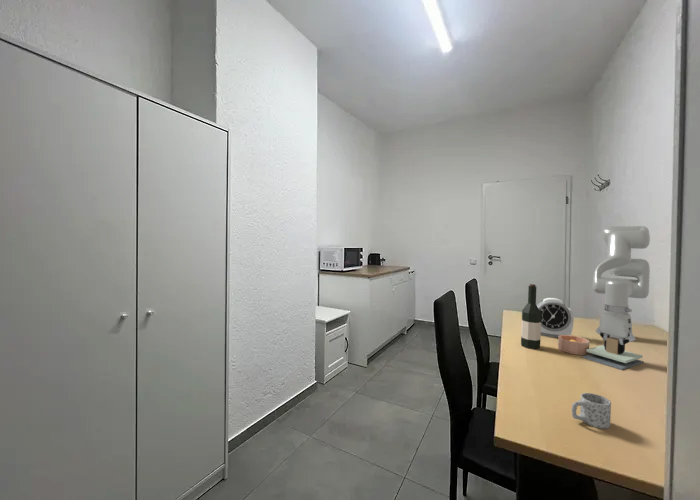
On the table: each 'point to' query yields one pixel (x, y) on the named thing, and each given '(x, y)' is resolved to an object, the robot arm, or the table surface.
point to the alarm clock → (555, 318)
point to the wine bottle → (531, 322)
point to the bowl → (573, 344)
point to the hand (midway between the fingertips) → (614, 350)
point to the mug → (593, 410)
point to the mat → (612, 361)
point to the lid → (614, 351)
